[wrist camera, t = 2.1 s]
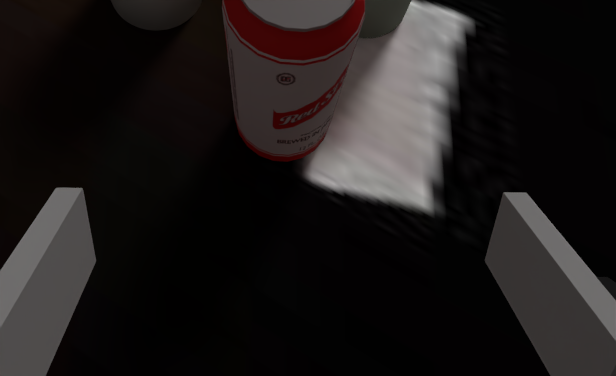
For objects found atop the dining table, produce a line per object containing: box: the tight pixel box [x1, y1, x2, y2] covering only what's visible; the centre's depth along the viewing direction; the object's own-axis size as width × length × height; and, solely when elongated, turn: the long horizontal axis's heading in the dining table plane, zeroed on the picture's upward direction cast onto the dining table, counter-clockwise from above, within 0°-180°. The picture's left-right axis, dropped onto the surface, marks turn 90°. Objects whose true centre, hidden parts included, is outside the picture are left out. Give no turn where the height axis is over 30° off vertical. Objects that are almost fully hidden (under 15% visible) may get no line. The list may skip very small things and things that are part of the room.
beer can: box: [222, 0, 365, 162], centre depth 29 cm, size 6×6×16 cm
